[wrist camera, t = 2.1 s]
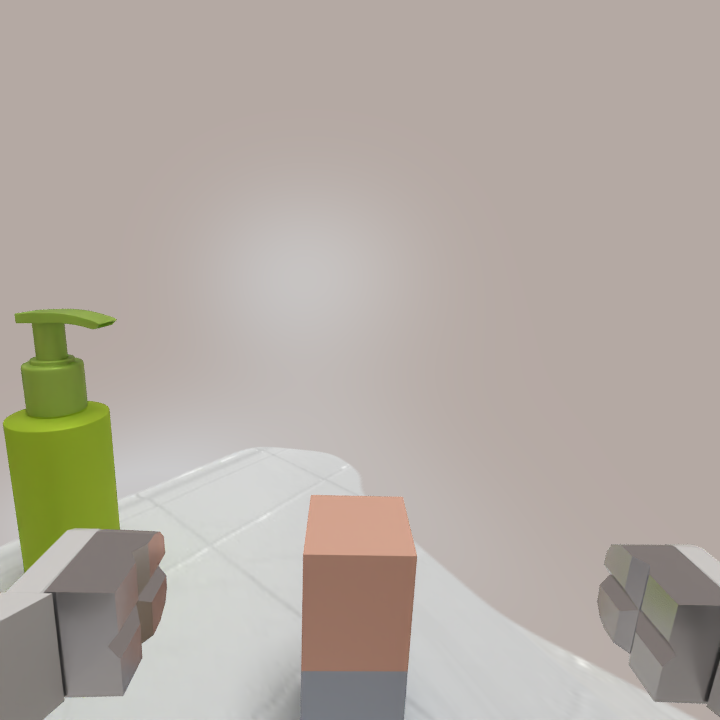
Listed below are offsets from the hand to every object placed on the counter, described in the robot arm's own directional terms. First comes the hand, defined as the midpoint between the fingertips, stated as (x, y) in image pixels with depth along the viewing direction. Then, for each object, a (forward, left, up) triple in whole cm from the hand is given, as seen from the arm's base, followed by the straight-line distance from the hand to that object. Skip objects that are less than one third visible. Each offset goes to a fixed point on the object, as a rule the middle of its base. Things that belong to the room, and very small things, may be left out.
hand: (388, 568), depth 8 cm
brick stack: (0, -12, -19) cm, 22 cm away
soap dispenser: (+19, -22, -19) cm, 35 cm away
